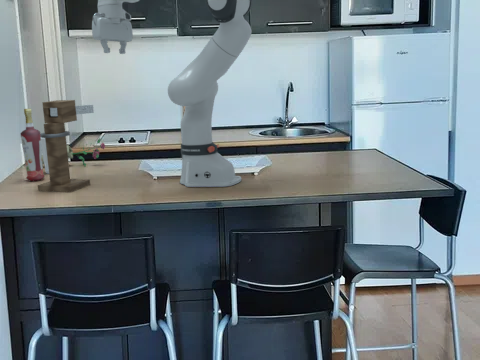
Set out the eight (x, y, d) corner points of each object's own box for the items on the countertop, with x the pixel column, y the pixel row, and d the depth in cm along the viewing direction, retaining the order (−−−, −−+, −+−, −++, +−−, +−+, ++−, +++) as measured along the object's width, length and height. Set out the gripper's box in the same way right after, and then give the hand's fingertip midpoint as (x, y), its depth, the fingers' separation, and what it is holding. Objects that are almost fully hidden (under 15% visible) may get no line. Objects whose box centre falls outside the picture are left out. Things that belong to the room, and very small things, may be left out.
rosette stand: (90, 184, 225) (81, 99, 218) (68, 193, 213) (59, 103, 206) (59, 183, 230) (49, 100, 223) (36, 191, 218) (25, 103, 211)
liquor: (49, 179, 238) (41, 108, 232) (32, 183, 233) (23, 110, 227) (39, 177, 243) (31, 107, 237) (22, 180, 238) (13, 109, 232)
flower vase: (39, 182, 271) (114, 162, 269) (27, 180, 259) (105, 159, 256) (34, 157, 272) (108, 137, 270) (21, 154, 260) (99, 132, 258)
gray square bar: (93, 112, 234) (93, 104, 234) (57, 116, 214) (56, 107, 214) (87, 112, 235) (86, 105, 235) (50, 116, 215) (50, 107, 215)
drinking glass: (55, 174, 248) (51, 138, 245) (40, 174, 249) (36, 138, 246) (63, 171, 255) (59, 135, 251) (49, 171, 256) (45, 136, 253)
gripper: (100, 10, 210) (104, 51, 212) (133, 16, 228) (137, 53, 230) (85, 13, 212) (90, 53, 214) (119, 18, 231) (123, 55, 233)
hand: (115, 53), depth 222 cm, fingers open, 8 cm apart
